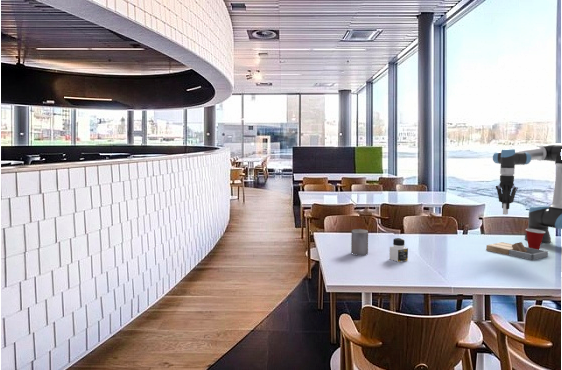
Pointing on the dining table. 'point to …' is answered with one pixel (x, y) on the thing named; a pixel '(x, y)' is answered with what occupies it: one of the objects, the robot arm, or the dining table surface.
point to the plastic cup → (534, 238)
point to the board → (500, 248)
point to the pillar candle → (359, 242)
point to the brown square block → (519, 247)
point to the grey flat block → (534, 254)
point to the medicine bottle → (398, 250)
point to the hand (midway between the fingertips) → (505, 214)
